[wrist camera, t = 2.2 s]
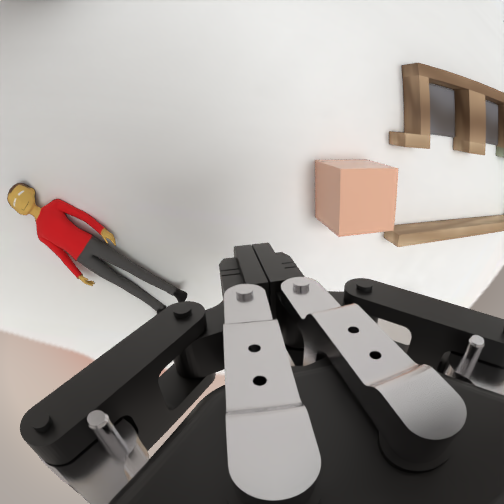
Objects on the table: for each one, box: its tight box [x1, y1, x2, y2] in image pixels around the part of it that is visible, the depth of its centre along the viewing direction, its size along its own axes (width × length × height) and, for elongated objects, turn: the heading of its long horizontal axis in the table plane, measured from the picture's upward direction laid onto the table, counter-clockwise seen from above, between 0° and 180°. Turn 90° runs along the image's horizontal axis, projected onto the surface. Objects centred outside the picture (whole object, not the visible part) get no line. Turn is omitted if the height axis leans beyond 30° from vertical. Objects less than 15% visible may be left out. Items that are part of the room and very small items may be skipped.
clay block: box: [315, 159, 398, 237], centre depth 24 cm, size 5×5×5 cm
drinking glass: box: [377, 318, 450, 352], centre depth 28 cm, size 7×7×10 cm
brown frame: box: [384, 63, 504, 247], centre depth 25 cm, size 17×23×2 cm
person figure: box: [7, 183, 187, 314], centre depth 22 cm, size 5×4×18 cm
